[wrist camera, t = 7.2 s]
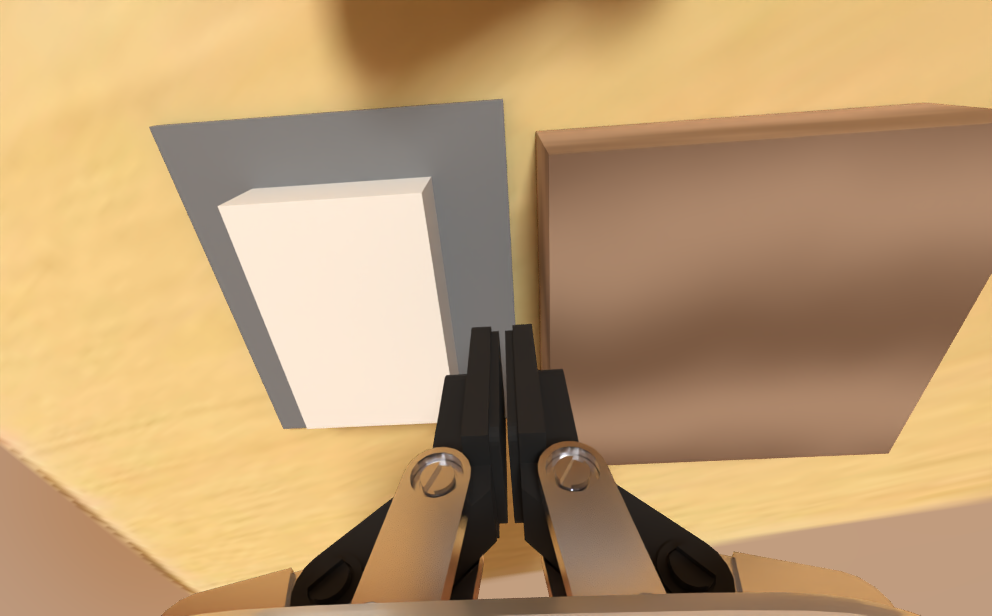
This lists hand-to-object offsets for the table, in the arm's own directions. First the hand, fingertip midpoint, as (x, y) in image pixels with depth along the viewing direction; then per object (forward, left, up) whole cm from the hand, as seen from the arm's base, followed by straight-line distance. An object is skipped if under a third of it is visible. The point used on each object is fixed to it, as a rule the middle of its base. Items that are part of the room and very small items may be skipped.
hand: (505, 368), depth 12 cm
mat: (0, -5, -5) cm, 7 cm away
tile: (0, -5, -3) cm, 6 cm away
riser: (0, +7, -5) cm, 9 cm away
